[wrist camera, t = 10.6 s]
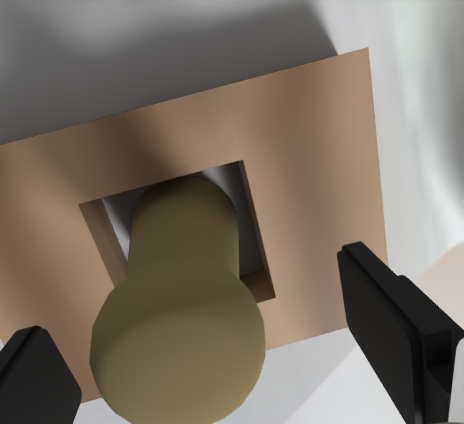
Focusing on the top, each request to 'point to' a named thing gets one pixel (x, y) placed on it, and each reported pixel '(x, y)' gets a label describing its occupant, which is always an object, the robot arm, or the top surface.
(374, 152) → the tan flat frame
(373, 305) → the robot arm
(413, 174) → the top surface
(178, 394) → the cork
